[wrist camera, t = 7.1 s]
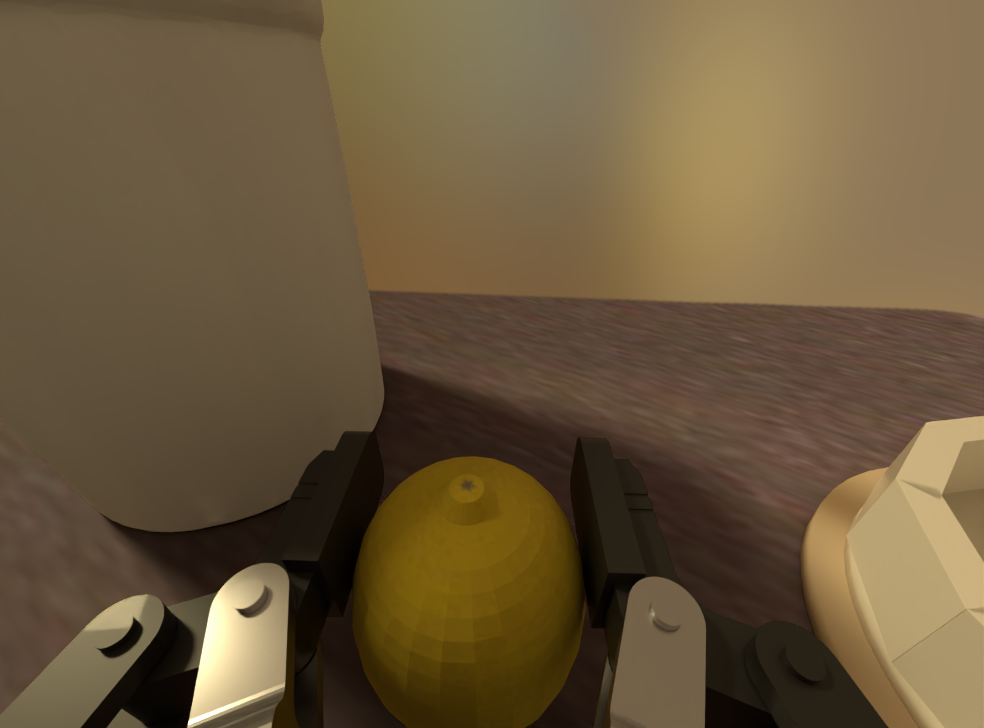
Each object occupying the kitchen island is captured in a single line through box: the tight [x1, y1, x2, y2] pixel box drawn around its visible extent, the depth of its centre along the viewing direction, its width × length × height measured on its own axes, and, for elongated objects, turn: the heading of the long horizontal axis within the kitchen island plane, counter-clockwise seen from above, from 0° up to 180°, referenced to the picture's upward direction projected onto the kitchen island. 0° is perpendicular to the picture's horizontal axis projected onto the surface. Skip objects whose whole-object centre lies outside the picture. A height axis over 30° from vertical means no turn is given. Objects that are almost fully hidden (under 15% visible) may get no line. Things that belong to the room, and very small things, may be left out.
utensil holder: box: [0, 0, 384, 532], centre depth 16 cm, size 15×15×18 cm
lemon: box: [352, 456, 586, 728], centre depth 10 cm, size 6×6×8 cm
